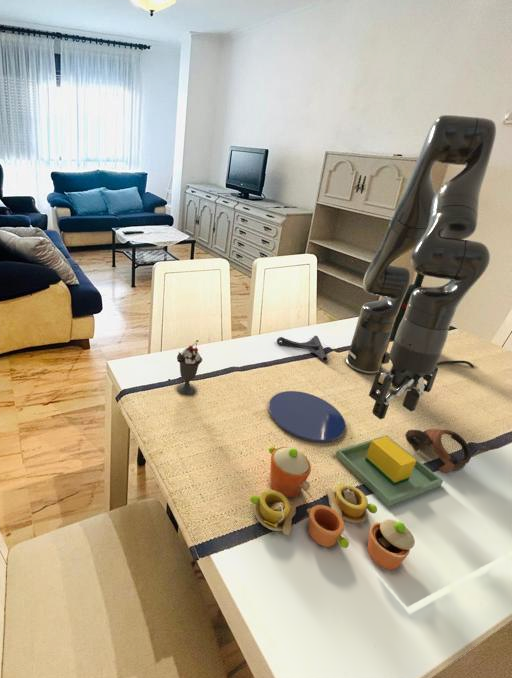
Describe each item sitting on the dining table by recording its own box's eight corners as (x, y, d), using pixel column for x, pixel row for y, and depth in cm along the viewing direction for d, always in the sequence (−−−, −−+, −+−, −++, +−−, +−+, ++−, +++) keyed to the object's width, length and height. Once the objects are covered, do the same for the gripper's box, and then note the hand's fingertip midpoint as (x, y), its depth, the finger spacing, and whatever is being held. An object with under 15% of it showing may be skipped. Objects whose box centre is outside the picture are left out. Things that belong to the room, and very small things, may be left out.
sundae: (201, 386, 106) (207, 339, 101) (193, 400, 101) (199, 351, 95) (179, 379, 109) (184, 333, 103) (170, 392, 103) (174, 344, 97)
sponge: (379, 455, 86) (386, 436, 84) (408, 480, 80) (416, 460, 78) (364, 460, 84) (371, 440, 82) (393, 486, 78) (401, 465, 76)
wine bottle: (378, 329, 146) (402, 253, 134) (409, 335, 142) (436, 258, 131) (382, 338, 139) (407, 259, 127) (414, 345, 135) (443, 264, 124)
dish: (384, 441, 90) (386, 435, 90) (440, 487, 79) (443, 480, 78) (334, 457, 85) (336, 450, 84) (387, 508, 74) (390, 501, 73)
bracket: (274, 334, 137) (275, 327, 136) (317, 340, 135) (319, 333, 134) (278, 355, 124) (280, 348, 123) (327, 362, 122) (329, 354, 121)
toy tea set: (245, 524, 69) (253, 485, 65) (258, 462, 82) (265, 427, 79) (411, 591, 60) (432, 550, 57) (396, 510, 74) (411, 472, 70)
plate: (308, 390, 108) (309, 385, 107) (360, 434, 92) (362, 430, 92) (254, 402, 101) (254, 398, 101) (301, 452, 86) (302, 447, 85)
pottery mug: (442, 443, 91) (470, 433, 85) (448, 484, 86) (480, 476, 79) (393, 424, 92) (417, 412, 86) (396, 463, 86) (423, 453, 80)
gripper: (410, 358, 66) (383, 432, 72) (464, 347, 71) (435, 417, 77) (373, 337, 73) (352, 407, 79) (425, 329, 78) (401, 395, 84)
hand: (393, 412), depth 78 cm, fingers open, 8 cm apart
